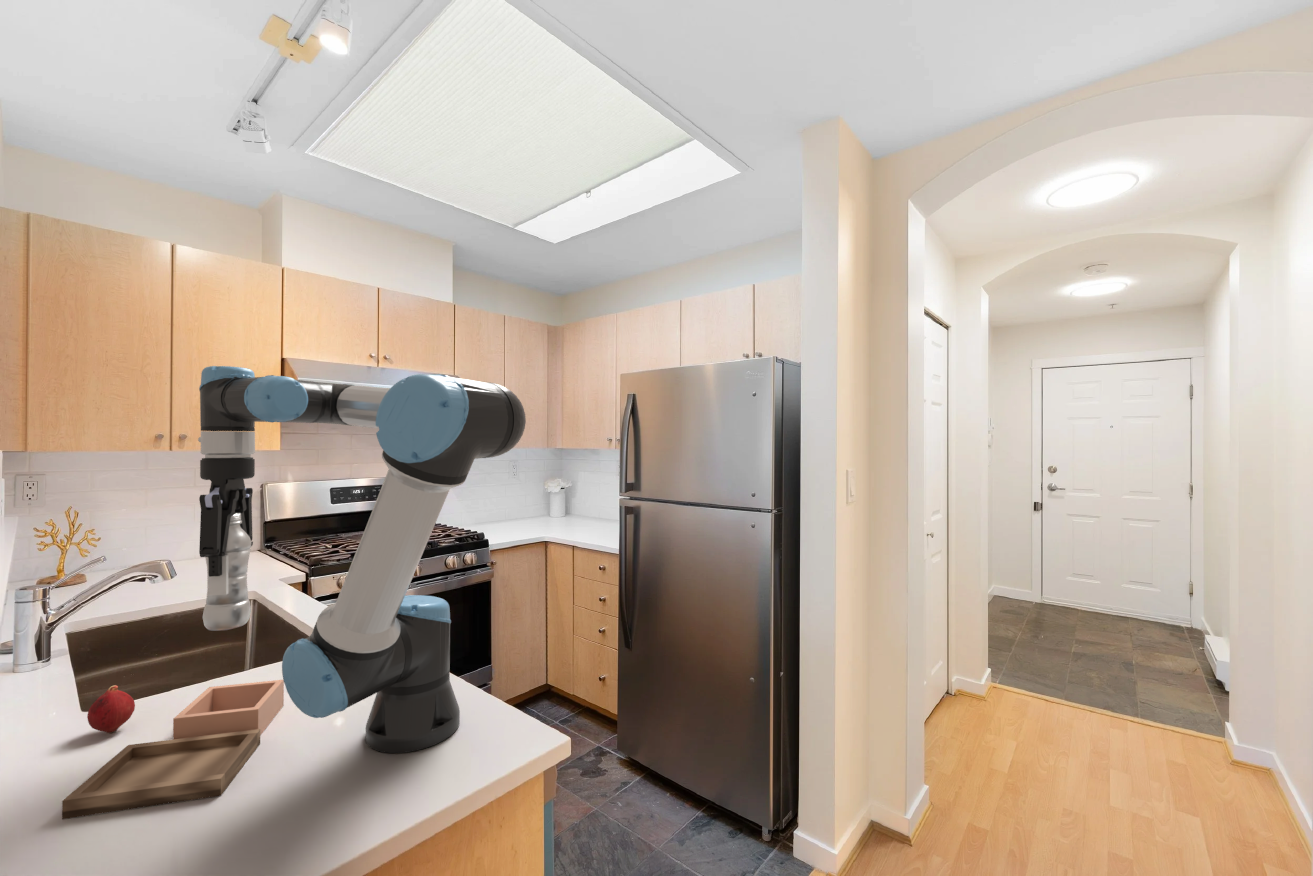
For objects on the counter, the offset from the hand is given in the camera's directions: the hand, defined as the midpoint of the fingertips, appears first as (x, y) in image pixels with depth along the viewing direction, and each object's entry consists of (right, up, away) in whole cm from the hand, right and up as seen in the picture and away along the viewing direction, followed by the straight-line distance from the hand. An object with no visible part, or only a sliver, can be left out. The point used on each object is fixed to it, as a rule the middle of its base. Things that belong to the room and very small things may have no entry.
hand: (227, 589), depth 97 cm
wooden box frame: (-1, -25, +2) cm, 25 cm away
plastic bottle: (0, -7, 0) cm, 7 cm away
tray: (+2, -25, -13) cm, 28 cm away
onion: (-20, -25, -1) cm, 32 cm away
